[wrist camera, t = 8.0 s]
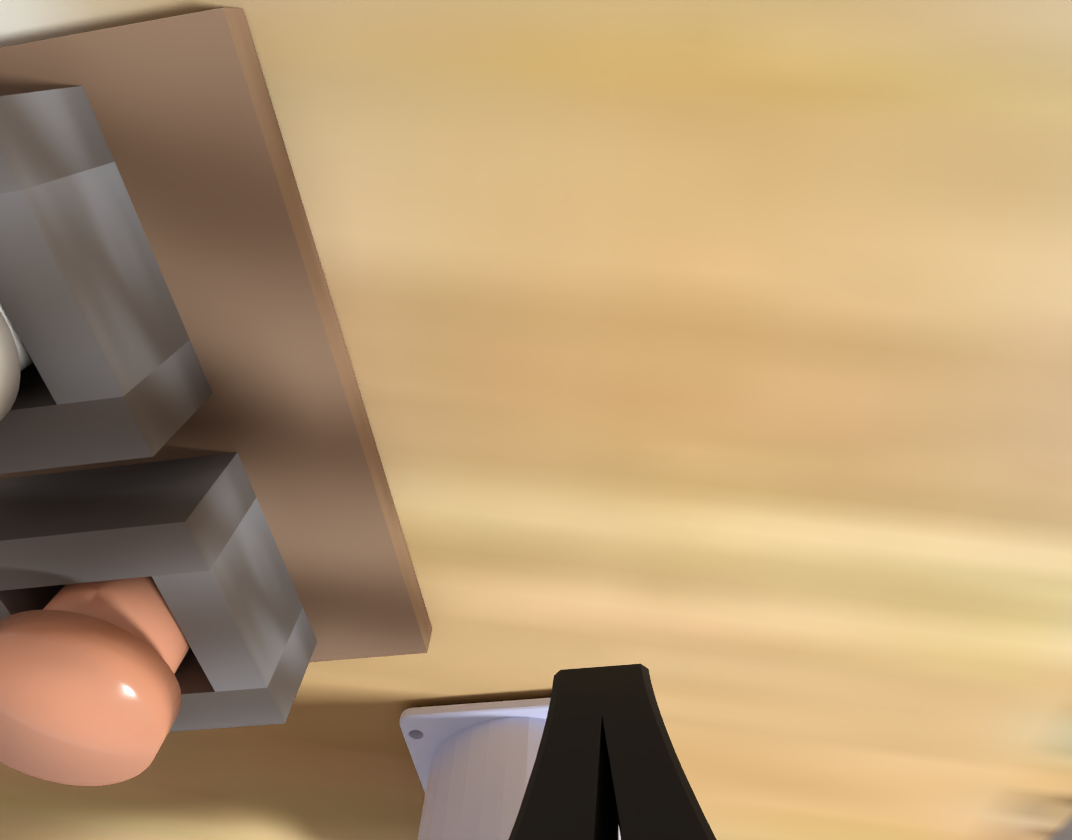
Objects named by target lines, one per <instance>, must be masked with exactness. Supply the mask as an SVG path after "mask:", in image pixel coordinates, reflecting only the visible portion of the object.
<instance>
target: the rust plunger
mask: <svg viewBox="0 0 1072 840" xmlns="http://www.w3.org/2000/svg"><path fill="white" fill-rule="evenodd" d="M189 648H190V645H189V643H188V642H187V640H186V638H185V636H184V634H183V633H182V631H181V629H180V627H179V625H178V624H177V622H176V620H175V618H174V616H173V614H172V613H171V611H170V609H169V607H168V605H167V604H166V602H165V600H164V598H163V596H162V595H161V593H160V591H159V589H158V587H157V585H156V584H155V582H154V580H153V578H152V576H149V577H138V578H128V579H118V580H107V581H97V582H86V583H76V584H65V585H64V586H63V587H62V588H61V589H60V591H59V592H58V593H57V594H56V595H55V596H54V597H53V598H52V600H51V601H50V602H49V603H48V604H47V605H46V606H45V608H44V609H43V610H31V611H24V612H20V613H16V614H13V615H10V616H8V617H6V618H3V619H2V620H0V763H2V764H4V765H6V766H8V767H10V768H12V769H14V770H17V771H19V772H21V773H24V774H27V775H30V776H33V777H36V778H39V779H43V780H46V781H51V782H56V783H60V784H68V785H76V786H102V785H110V784H115V783H120V782H123V781H126V780H129V779H131V778H133V777H135V776H137V775H139V774H140V773H142V772H143V771H144V770H146V768H147V767H148V766H149V765H150V764H151V763H152V761H153V759H154V758H155V756H156V754H157V752H158V750H159V749H160V747H161V745H162V743H163V741H164V740H165V738H166V736H167V734H168V732H169V730H170V729H171V727H172V725H173V723H174V721H175V720H176V718H177V716H178V714H179V711H180V708H181V701H182V697H181V690H180V686H179V683H178V681H177V679H176V677H175V675H174V674H175V672H176V670H177V669H178V667H179V665H180V664H181V662H182V660H183V659H184V657H185V655H186V653H187V652H188V650H189Z"/></svg>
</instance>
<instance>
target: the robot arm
mask: <svg viewBox="0 0 1072 840" xmlns="http://www.w3.org/2000/svg"><path fill="white" fill-rule="evenodd" d="M399 724H400V728H401V731H402V733H403V736H404V739H405V741H406V744H407V747H408V749H409V752H410V755H411V757H412V760H413V763H414V766H415V768H416V771H417V774H418V776H419V779H420V782H421V784H422V787H423V790H424V792H425V799H424V804H423V810H422V816H421V821H420V827H419V833H418V839H417V840H716V838H715V836H714V834H713V832H712V830H711V828H710V826H709V824H708V822H707V820H706V818H705V816H704V814H703V812H702V810H701V808H700V805H699V803H698V801H697V799H696V797H695V795H694V793H693V790H692V788H691V786H690V784H689V782H688V780H687V778H686V776H685V773H684V771H683V769H682V767H681V764H680V762H679V760H678V757H677V755H676V753H675V750H674V748H673V745H672V743H671V740H670V738H669V735H668V733H667V730H666V727H665V725H664V722H663V719H662V716H661V714H660V711H659V708H658V705H657V702H656V698H655V695H654V691H653V688H652V684H651V680H650V675H649V670H648V668H646V667H645V666H643V665H642V664H632V665H619V666H606V667H593V668H580V669H567V670H560V671H559V672H558V673H557V674H556V675H554V680H553V687H552V694H551V698H538V699H524V700H511V701H497V702H483V703H470V704H456V705H442V706H429V707H415V708H408V709H406V710H404V711H403V712H402V714H401V717H400V721H399Z"/></svg>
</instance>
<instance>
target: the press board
mask: <svg viewBox="0 0 1072 840" xmlns="http://www.w3.org/2000/svg"><path fill="white" fill-rule="evenodd" d="M0 302H1V304H2V306H3V308H4V310H5V312H6V313H7V315H8V317H9V319H10V321H11V322H12V324H13V326H14V328H15V330H16V332H17V333H18V335H19V337H20V339H21V341H22V342H23V344H24V346H25V348H26V350H27V351H28V353H29V355H30V357H31V359H32V361H33V362H34V363H33V364H31V365H29V366H28V367H26V368H25V369H23V370H22V371H20V385H19V390H18V394H17V397H16V400H15V402H14V404H13V406H12V408H11V409H10V411H9V412H8V413H7V414H6V416H5V417H4V418H3V419H2V420H1V421H0V620H2V619H3V618H6V617H8V616H10V615H13V614H16V613H20V612H24V611H31V610H43V609H44V608H45V606H46V605H47V604H48V603H49V602H50V601H51V600H52V598H53V597H54V596H55V595H56V594H57V593H58V592H59V591H60V589H61V588H62V587H63V586H64V585H65V584H76V583H86V582H97V581H107V580H118V579H128V578H138V577H149V576H152V578H153V580H154V582H155V584H156V585H157V587H158V589H159V591H160V593H161V595H162V596H163V598H164V600H165V602H166V604H167V605H168V607H169V609H170V611H171V613H172V614H173V616H174V618H175V620H176V622H177V624H178V625H179V627H180V629H181V631H182V633H183V634H184V636H185V638H186V640H187V642H188V643H189V645H190V648H189V650H188V652H187V653H186V655H185V657H184V659H183V660H182V662H181V664H180V665H179V667H178V669H177V670H176V672H175V674H174V675H175V677H176V679H177V681H178V683H179V686H180V690H181V697H182V701H181V708H180V711H179V714H178V716H177V718H176V720H175V721H174V723H173V725H172V727H171V729H170V730H169V732H175V731H189V730H203V729H216V728H230V727H244V726H258V725H272V724H285V722H286V720H287V717H288V715H289V712H290V710H291V707H292V705H293V702H294V699H295V697H296V694H297V692H298V689H299V687H300V684H301V682H302V679H303V677H304V674H305V671H306V669H307V666H308V664H309V662H318V661H331V660H343V659H356V658H368V657H380V656H393V655H405V654H417V653H427V651H428V646H429V642H430V637H431V632H432V627H431V624H430V620H429V617H428V614H427V611H426V607H425V604H424V601H423V598H422V594H421V591H420V588H419V584H418V581H417V578H416V575H415V571H414V568H413V565H412V561H411V558H410V555H409V552H408V548H407V545H406V542H405V538H404V535H403V532H402V529H401V525H400V522H399V519H398V515H397V512H396V509H395V506H394V502H393V499H392V496H391V493H390V489H389V486H388V483H387V479H386V476H385V473H384V470H383V466H382V463H381V460H380V456H379V453H378V450H377V447H376V443H375V440H374V437H373V433H372V430H371V427H370V424H369V420H368V417H367V414H366V410H365V407H364V404H363V401H362V397H361V394H360V391H359V388H358V384H357V381H356V378H355V374H354V371H353V368H352V365H351V361H350V358H349V355H348V351H347V348H346V345H345V342H344V338H343V335H342V332H341V328H340V325H339V322H338V319H337V315H336V312H335V309H334V305H333V302H332V299H331V296H330V292H329V289H328V286H327V283H326V279H325V276H324V273H323V269H322V266H321V263H320V260H319V256H318V253H317V250H316V246H315V243H314V240H313V237H312V233H311V230H310V227H309V223H308V220H307V217H306V214H305V210H304V207H303V204H302V200H301V197H300V194H299V191H298V187H297V184H296V181H295V178H294V174H293V171H292V168H291V164H290V161H289V158H288V155H287V151H286V148H285V145H284V141H283V138H282V135H281V132H280V128H279V125H278V122H277V118H276V115H275V112H274V109H273V105H272V102H271V99H270V96H269V92H268V89H267V86H266V82H265V79H264V76H263V73H262V69H261V66H260V63H259V59H258V56H257V53H256V50H255V46H254V43H253V40H252V36H251V33H250V30H249V27H248V23H247V20H246V17H245V13H244V10H243V8H223V7H222V8H217V9H211V10H206V11H200V12H195V13H189V14H183V15H178V16H172V17H167V18H161V19H156V20H150V21H144V22H139V23H133V24H128V25H122V26H117V27H111V28H105V29H100V30H94V31H89V32H83V33H78V34H72V35H66V36H61V37H55V38H50V39H44V40H39V41H33V42H27V43H22V44H16V45H11V46H5V47H0Z"/></svg>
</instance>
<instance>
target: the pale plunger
mask: <svg viewBox="0 0 1072 840" xmlns="http://www.w3.org/2000/svg"><path fill="white" fill-rule="evenodd" d="M33 363H34V362H33V361H32V359H31V357H30V355H29V353H28V351H27V350H26V348H25V346H24V344H23V342H22V341H21V339H20V337H19V335H18V333H17V332H16V330H15V328H14V326H13V324H12V322H11V321H10V319H9V317H8V315H7V313H6V312H5V310H4V308H3V306H2V304H1V302H0V421H1V420H2V419H3V418H4V417H5V416H6V414H7V413H8V412H9V411H10V409H11V408H12V406H13V404H14V402H15V400H16V397H17V394H18V390H19V385H20V371H22V370H23V369H25V368H26V367H28V366H29V365H31V364H33Z"/></svg>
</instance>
